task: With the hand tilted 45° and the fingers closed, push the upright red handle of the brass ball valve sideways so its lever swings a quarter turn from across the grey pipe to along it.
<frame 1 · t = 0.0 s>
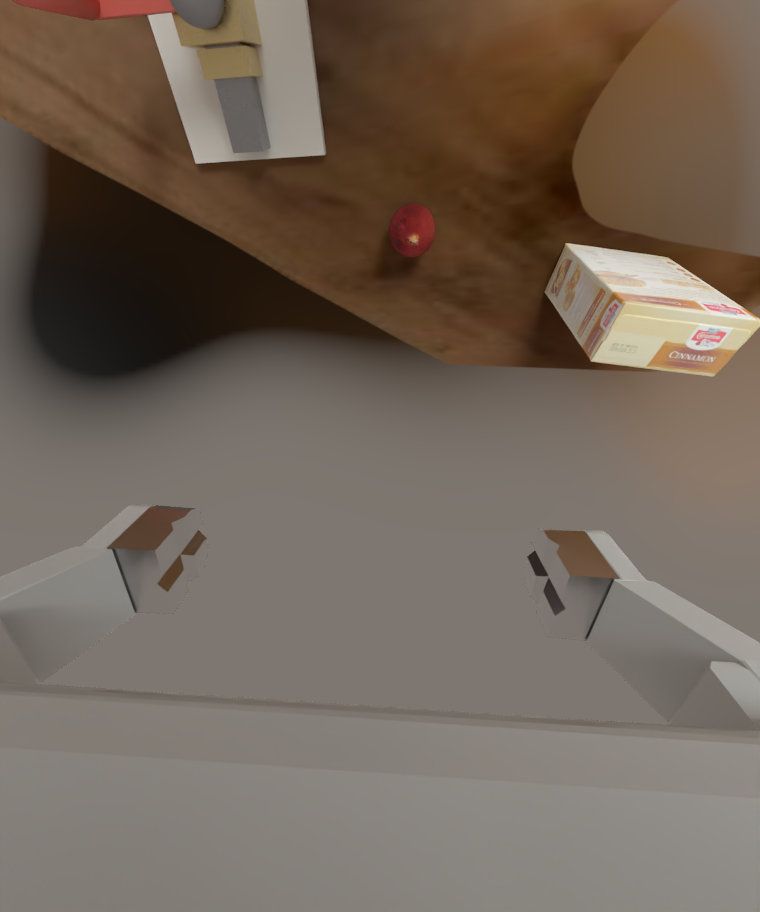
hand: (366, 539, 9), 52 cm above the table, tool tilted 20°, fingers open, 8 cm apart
mounting board: (227, 3, 36), on the table
coffeecake box: (603, 275, 53), on the table
onion: (411, 223, 49), on the table
valve and pipe: (227, 3, 36), resting on mounting board
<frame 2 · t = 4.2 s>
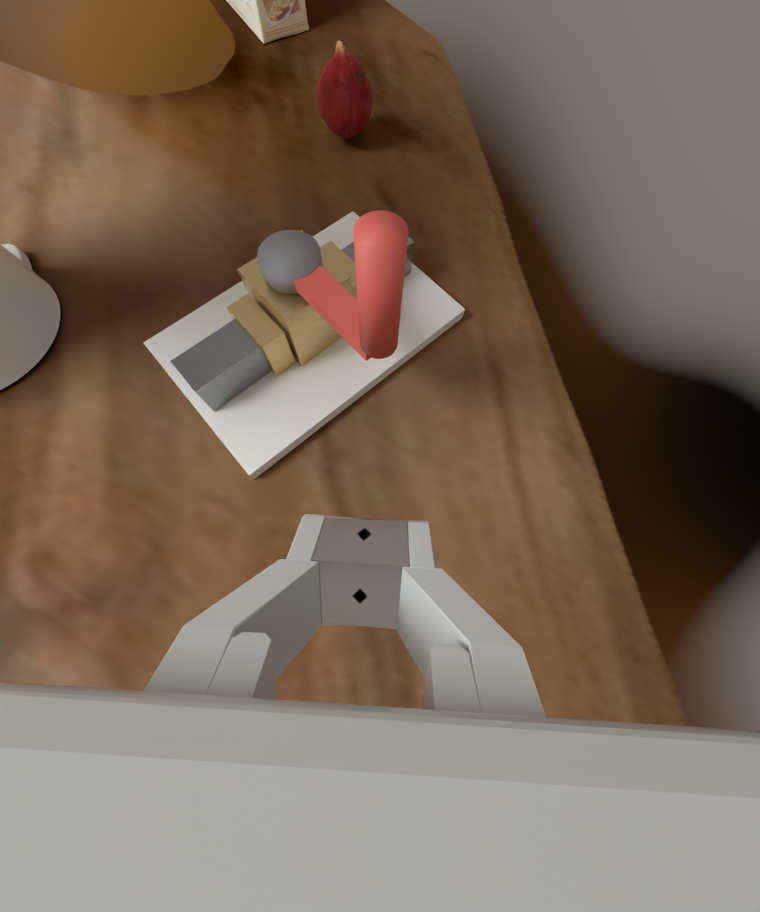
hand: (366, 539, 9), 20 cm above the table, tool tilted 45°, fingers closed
mounting board: (310, 334, 34), on the table
coffeecake box: (262, 12, 51), on the table
lever: (320, 250, 21), point 12 cm above the table, hinge at -45.0°
onion: (347, 140, 43), on the table
valve and pipe: (310, 334, 34), resting on mounting board
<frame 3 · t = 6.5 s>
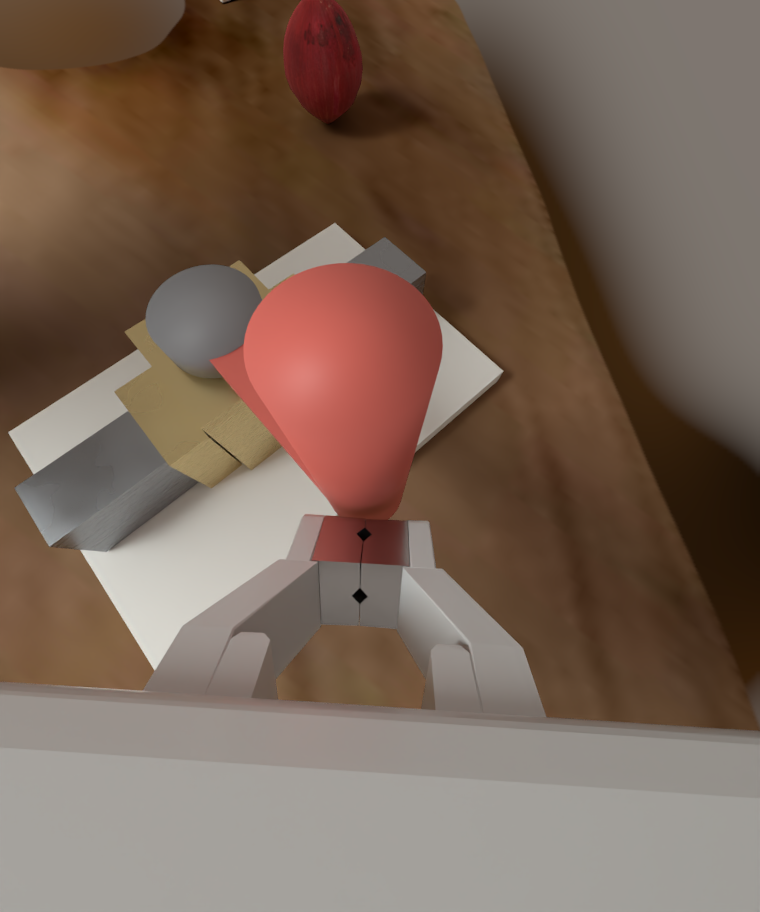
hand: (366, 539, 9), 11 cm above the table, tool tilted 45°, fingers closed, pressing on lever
mounting board: (269, 409, 23), on the table
lever: (236, 322, 10), point 12 cm above the table, hinge at -45.0°, touching gripper
onion: (329, 124, 31), on the table
valve and pipe: (269, 409, 23), resting on mounting board
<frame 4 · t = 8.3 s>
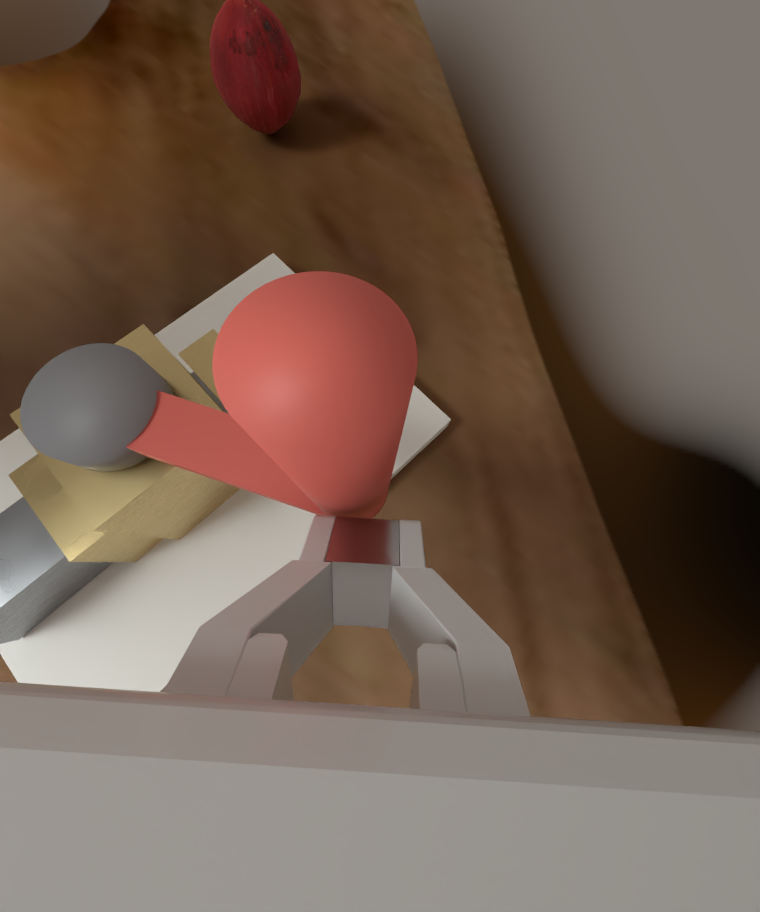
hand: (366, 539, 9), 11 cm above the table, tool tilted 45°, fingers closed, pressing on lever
mounting board: (203, 465, 21), on the table
lever: (145, 394, 9), point 12 cm above the table, hinge at -17.0°, touching gripper
onion: (271, 135, 29), on the table
valve and pipe: (203, 465, 21), resting on mounting board
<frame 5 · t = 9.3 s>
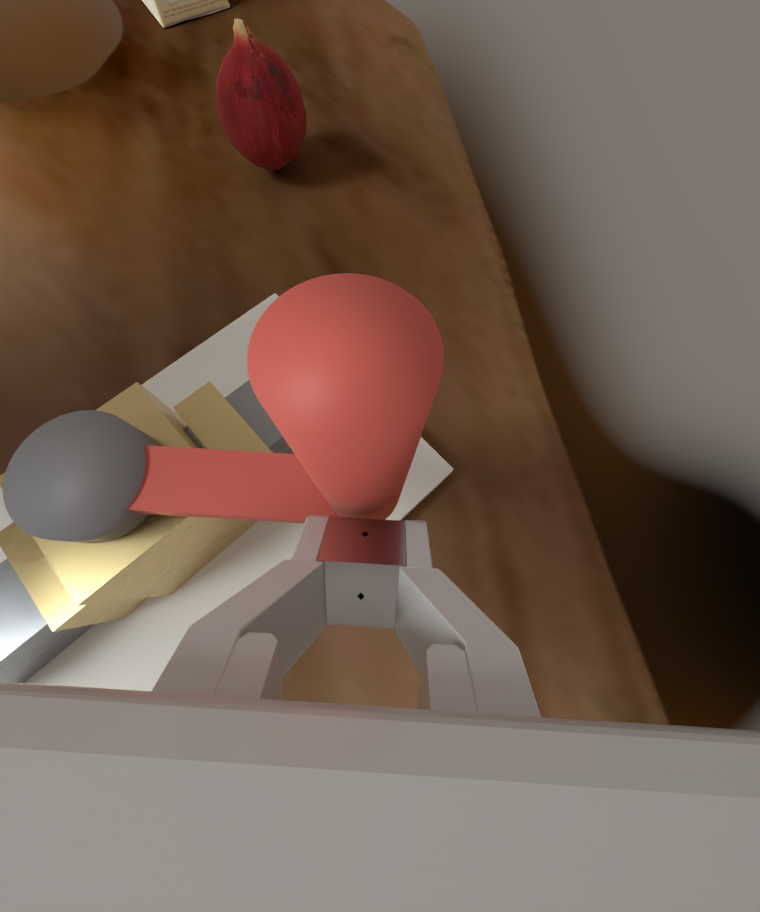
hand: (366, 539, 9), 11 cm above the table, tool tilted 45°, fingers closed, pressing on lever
mounting board: (198, 512, 20), on the table
lever: (144, 447, 9), point 12 cm above the table, hinge at -1.1°, touching gripper
onion: (277, 171, 29), on the table
valve and pipe: (198, 512, 20), resting on mounting board
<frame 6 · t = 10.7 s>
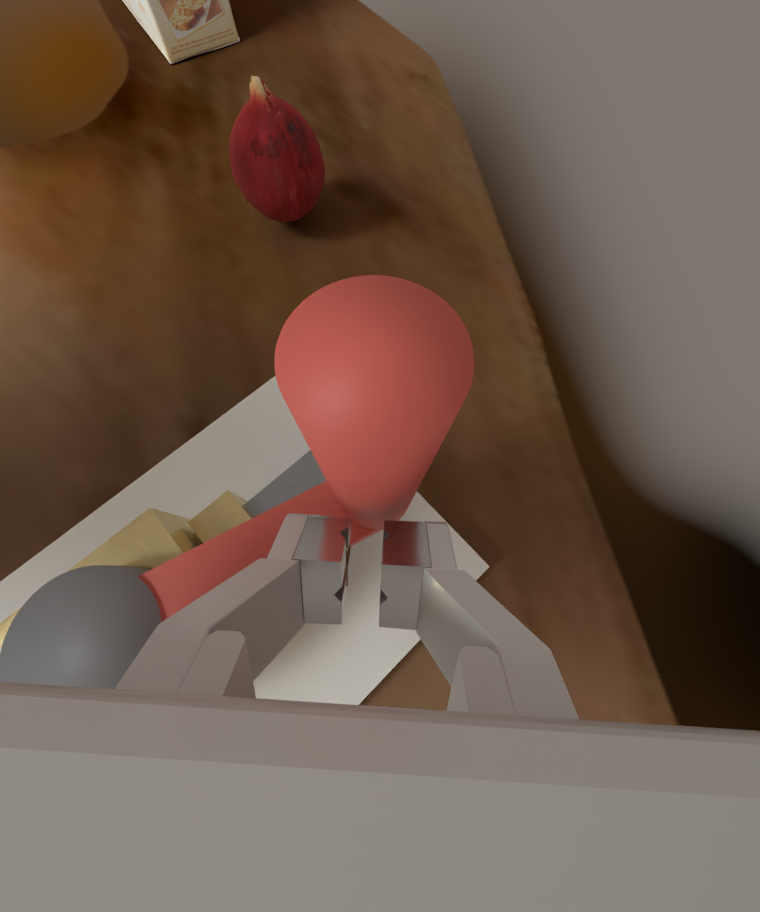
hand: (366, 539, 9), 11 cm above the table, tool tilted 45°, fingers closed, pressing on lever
mounting board: (212, 612, 19), on the table
coffeecake box: (174, 16, 35), on the table
lever: (162, 571, 8), point 12 cm above the table, hinge at 30.6°, touching gripper
onion: (291, 221, 27), on the table
valve and pipe: (212, 612, 19), resting on mounting board
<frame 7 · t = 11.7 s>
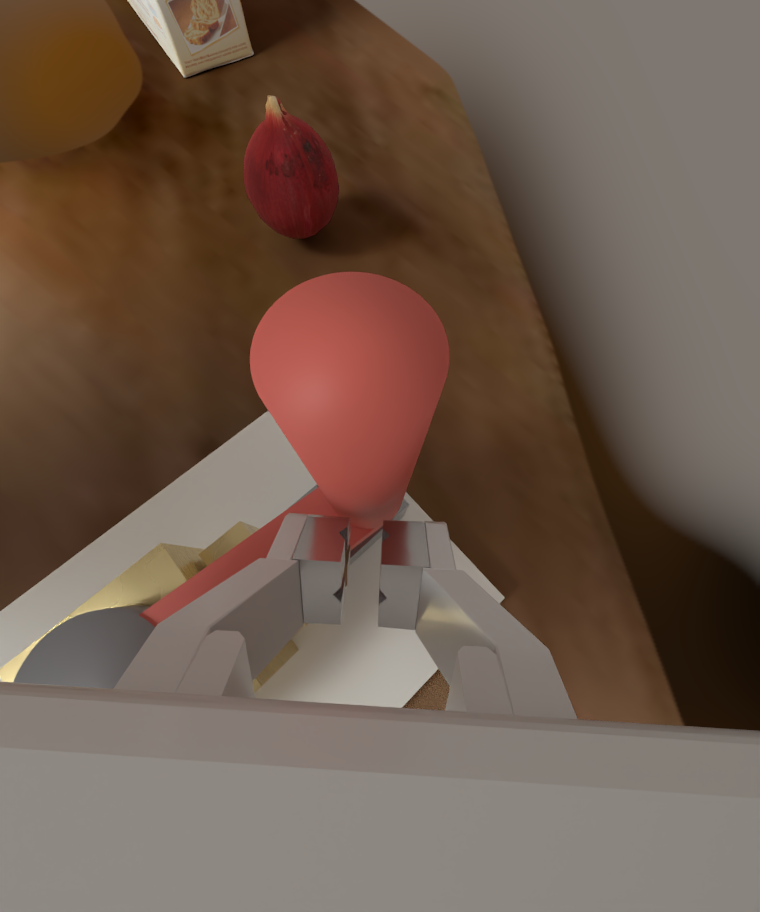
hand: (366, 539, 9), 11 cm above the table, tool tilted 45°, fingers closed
mounting board: (220, 640, 19), on the table
coffeecake box: (188, 29, 35), on the table
lever: (165, 604, 8), point 12 cm above the table, hinge at 40.3°, touching gripper
onion: (304, 236, 27), on the table
valve and pipe: (220, 640, 19), resting on mounting board
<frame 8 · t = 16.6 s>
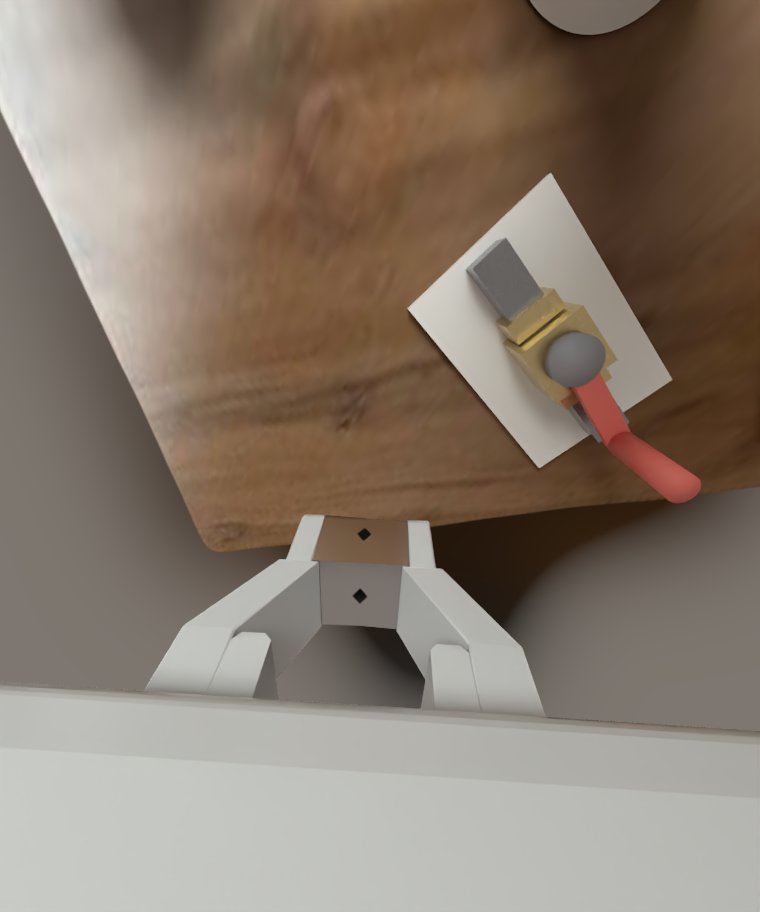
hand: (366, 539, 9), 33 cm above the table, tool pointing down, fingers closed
mounting board: (539, 343, 38), on the table
lever: (619, 413, 29), point 12 cm above the table, hinge at 40.4°
valve and pipe: (539, 343, 38), resting on mounting board
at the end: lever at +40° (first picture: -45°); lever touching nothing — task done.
